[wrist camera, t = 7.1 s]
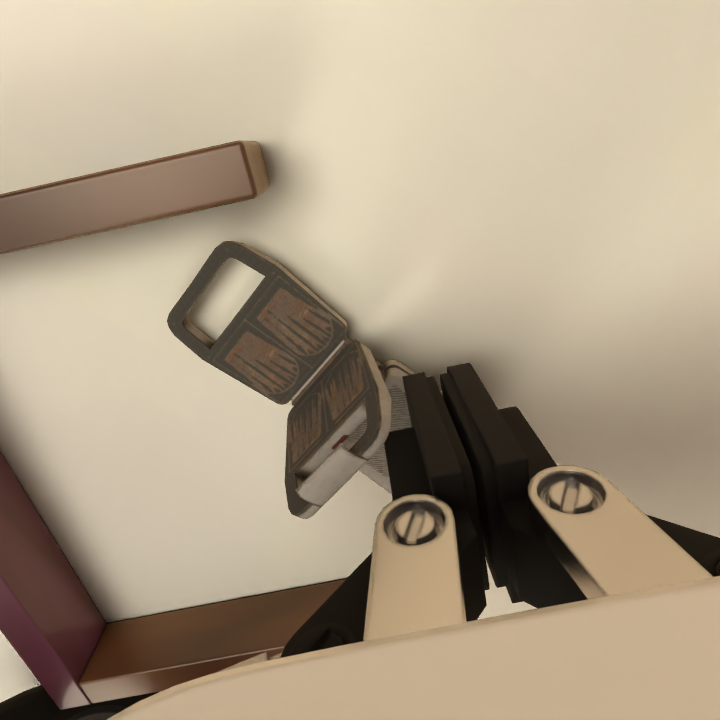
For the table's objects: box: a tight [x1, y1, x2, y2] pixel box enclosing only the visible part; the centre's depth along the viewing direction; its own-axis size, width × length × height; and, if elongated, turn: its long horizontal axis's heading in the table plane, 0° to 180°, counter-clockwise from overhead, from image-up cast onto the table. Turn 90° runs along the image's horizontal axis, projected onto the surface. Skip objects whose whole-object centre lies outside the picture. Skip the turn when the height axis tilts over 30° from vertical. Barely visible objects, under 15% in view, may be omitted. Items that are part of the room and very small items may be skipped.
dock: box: [0, 141, 346, 710], centre depth 13 cm, size 10×14×2 cm
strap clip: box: [167, 241, 443, 519], centre depth 11 cm, size 8×3×4 cm, turn 50°
